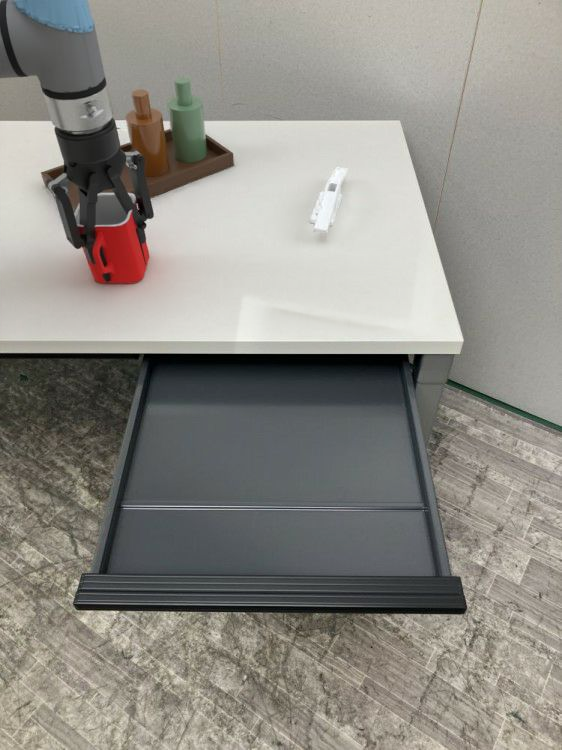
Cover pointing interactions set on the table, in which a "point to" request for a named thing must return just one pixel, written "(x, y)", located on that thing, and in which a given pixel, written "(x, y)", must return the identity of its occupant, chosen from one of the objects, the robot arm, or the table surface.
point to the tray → (172, 179)
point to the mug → (116, 242)
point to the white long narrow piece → (328, 202)
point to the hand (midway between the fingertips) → (122, 268)
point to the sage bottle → (187, 123)
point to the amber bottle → (148, 134)
